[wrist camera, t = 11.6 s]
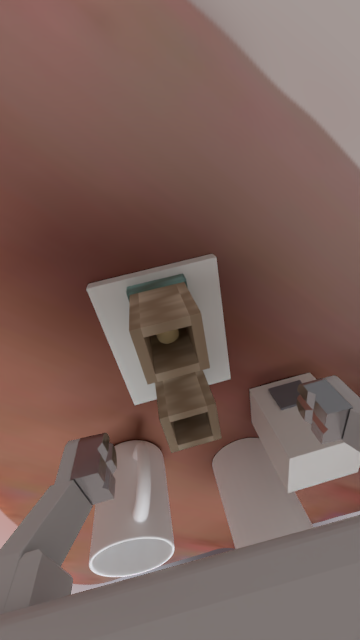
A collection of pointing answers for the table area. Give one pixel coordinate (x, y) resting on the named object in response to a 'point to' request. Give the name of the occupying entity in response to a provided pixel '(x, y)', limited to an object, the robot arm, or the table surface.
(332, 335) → the table surface
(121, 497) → the mug
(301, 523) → the cylinder container
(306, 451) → the white box
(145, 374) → the sleeve
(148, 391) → the pin board
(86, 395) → the table surface
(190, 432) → the sleeve seated
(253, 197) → the table surface
